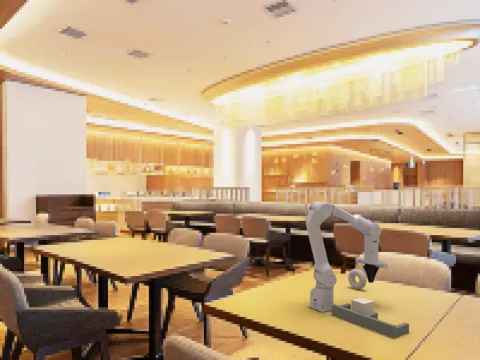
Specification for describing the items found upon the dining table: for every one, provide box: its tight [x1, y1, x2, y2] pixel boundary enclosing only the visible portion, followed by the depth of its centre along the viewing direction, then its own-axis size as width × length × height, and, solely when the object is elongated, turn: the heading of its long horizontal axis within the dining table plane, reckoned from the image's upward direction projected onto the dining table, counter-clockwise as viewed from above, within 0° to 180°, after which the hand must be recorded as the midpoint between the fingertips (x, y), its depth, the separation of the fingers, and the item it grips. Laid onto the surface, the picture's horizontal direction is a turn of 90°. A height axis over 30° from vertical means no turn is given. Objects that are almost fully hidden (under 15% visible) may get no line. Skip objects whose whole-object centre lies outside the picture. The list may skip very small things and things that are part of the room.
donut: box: [347, 268, 368, 291], centre depth 185 cm, size 10×4×10 cm, turn 36°
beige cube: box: [351, 297, 375, 315], centre depth 148 cm, size 6×6×6 cm
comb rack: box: [331, 302, 410, 339], centre depth 140 cm, size 10×26×4 cm, turn 35°
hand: (371, 282), depth 162 cm, fingers closed
